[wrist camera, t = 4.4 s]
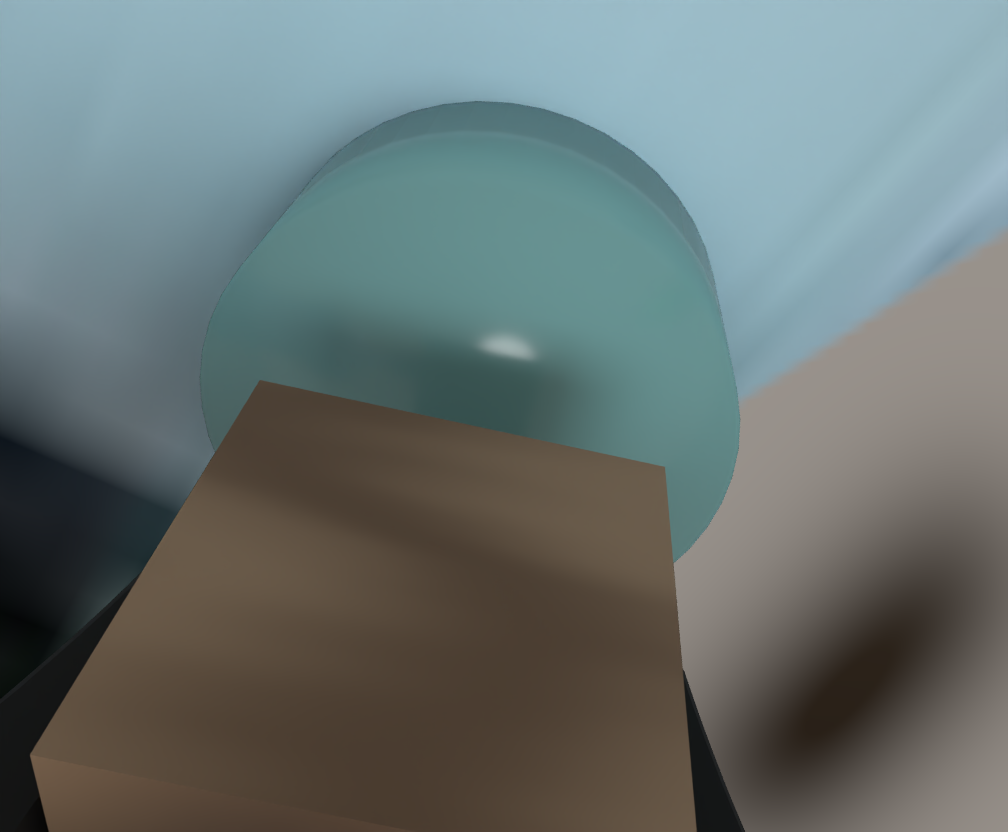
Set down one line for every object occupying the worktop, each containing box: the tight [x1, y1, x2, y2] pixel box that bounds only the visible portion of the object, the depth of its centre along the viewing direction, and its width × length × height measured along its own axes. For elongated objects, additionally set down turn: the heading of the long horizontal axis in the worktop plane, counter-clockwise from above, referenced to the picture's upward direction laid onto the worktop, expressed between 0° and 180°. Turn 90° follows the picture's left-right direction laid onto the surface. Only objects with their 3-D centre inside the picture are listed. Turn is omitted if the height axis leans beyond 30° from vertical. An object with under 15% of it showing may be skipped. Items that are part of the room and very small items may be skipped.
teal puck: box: [200, 101, 740, 563], centre depth 16 cm, size 9×9×4 cm
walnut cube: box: [30, 380, 697, 832], centre depth 10 cm, size 5×5×5 cm
